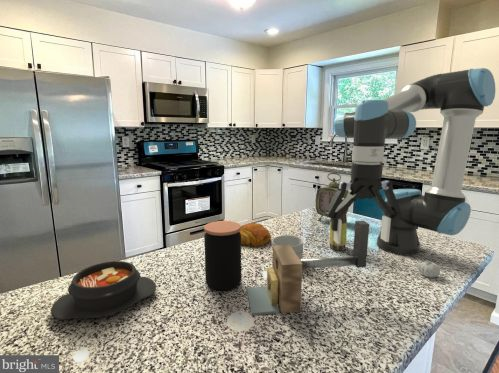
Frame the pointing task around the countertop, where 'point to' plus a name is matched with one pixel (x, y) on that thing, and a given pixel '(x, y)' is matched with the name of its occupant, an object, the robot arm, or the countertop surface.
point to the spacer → (272, 286)
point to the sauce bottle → (343, 233)
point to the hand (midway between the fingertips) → (360, 241)
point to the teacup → (290, 243)
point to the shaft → (356, 260)
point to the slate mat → (260, 301)
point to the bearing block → (288, 278)
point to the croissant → (254, 234)
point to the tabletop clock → (327, 196)
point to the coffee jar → (222, 255)
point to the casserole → (103, 291)
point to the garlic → (429, 269)
